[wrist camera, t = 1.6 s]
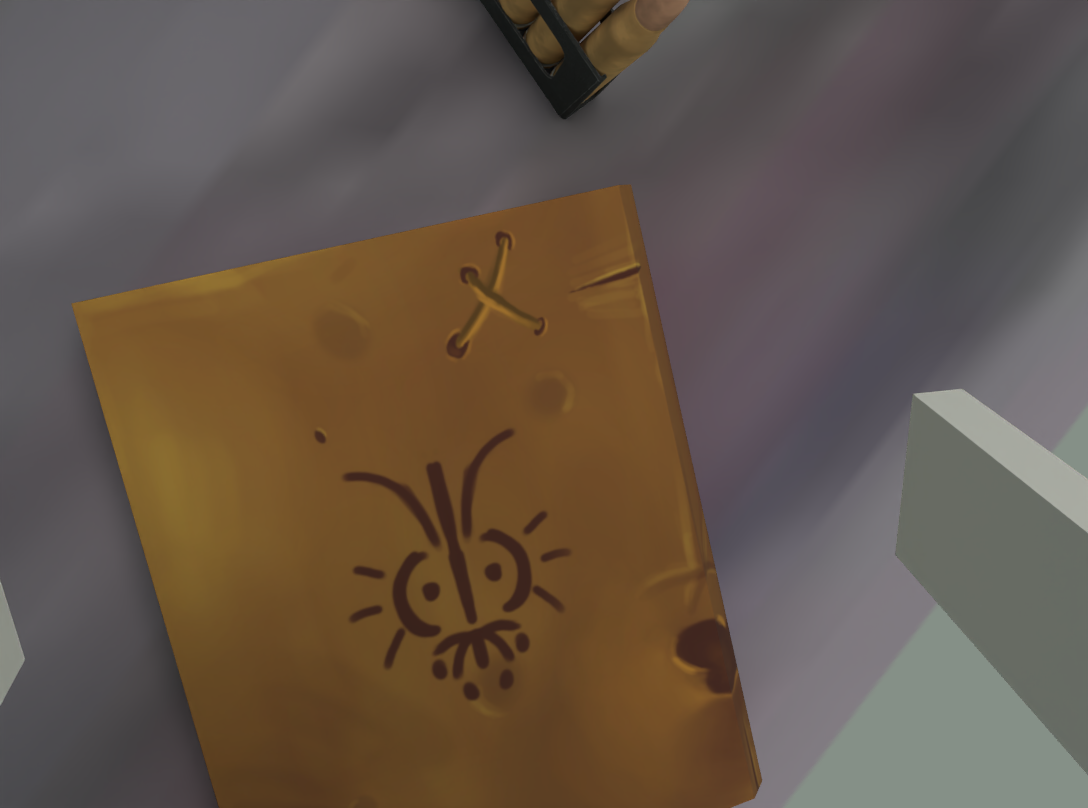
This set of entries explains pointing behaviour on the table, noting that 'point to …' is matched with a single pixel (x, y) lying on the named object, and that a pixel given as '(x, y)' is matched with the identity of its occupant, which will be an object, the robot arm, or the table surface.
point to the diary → (430, 520)
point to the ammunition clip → (561, 22)
